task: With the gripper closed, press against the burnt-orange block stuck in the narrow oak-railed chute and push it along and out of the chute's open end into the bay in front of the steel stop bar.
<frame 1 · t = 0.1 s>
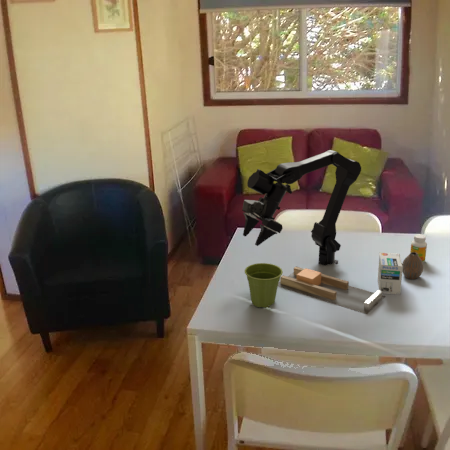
hand: (250, 240, 181), 15 cm above the table, tool tilted 30°, fingers open, 9 cm apart
chute: (313, 288, 179), on the table
light bulb box: (388, 289, 178), on the table
stop bar: (372, 303, 167), resting on chute
vase: (411, 277, 185), on the table
orange block: (308, 284, 180), point 1 cm above the table, touching chute
supplement bottle: (417, 261, 197), on the table
plant pot: (263, 303, 171), on the table
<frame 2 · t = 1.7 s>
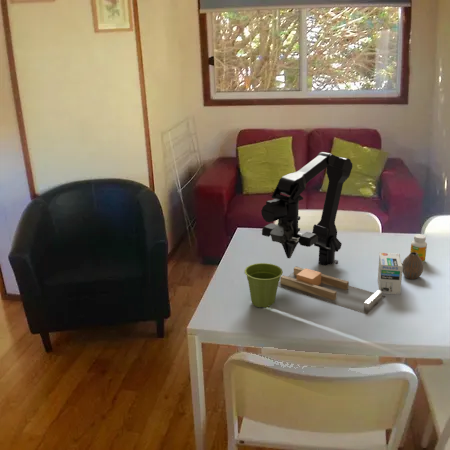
hand: (288, 257, 182), 8 cm above the table, tool pointing down, fingers closed
nothing on the table moved.
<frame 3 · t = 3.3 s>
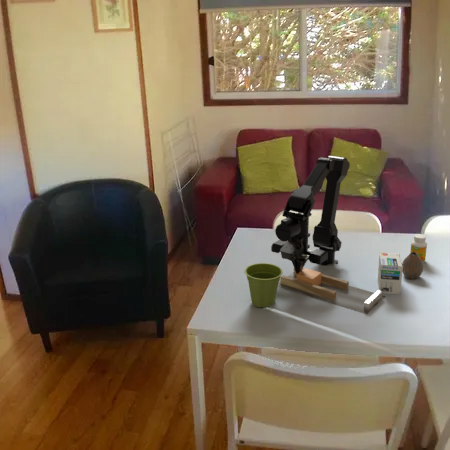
hand: (298, 274, 182), 3 cm above the table, tool pointing down, fingers closed
orange block: (308, 284, 180), point 1 cm above the table, touching chute, gripper
everything else where it was.
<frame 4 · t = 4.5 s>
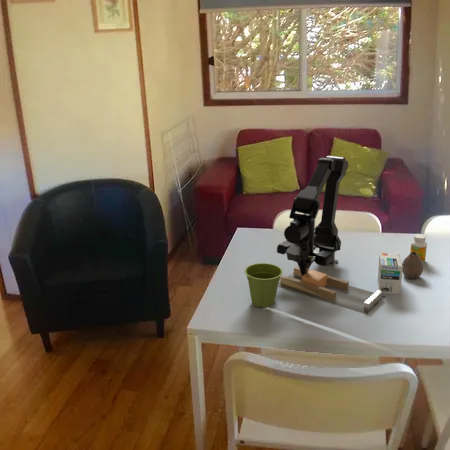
hand: (303, 276, 180), 3 cm above the table, tool pointing down, fingers closed
orange block: (314, 286, 179), point 1 cm above the table, touching chute, gripper
everything else where it was.
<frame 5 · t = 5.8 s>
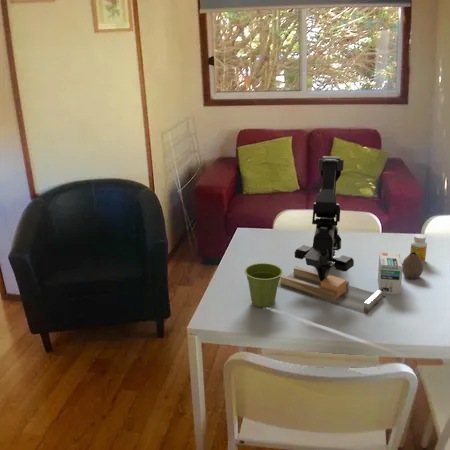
hand: (322, 281, 176), 3 cm above the table, tool pointing down, fingers closed
orange block: (333, 291, 175), point 1 cm above the table, touching gripper
everything else where it was.
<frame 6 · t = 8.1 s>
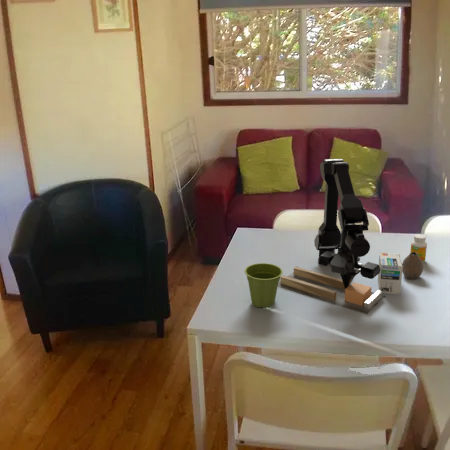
hand: (346, 288, 171), 3 cm above the table, tool pointing down, fingers closed
orange block: (357, 299, 170), point 1 cm above the table, touching chute, gripper
everything else where it was.
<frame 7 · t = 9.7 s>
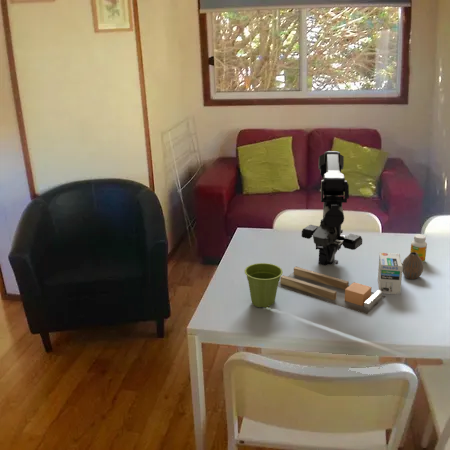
hand: (330, 261, 173), 11 cm above the table, tool pointing down, fingers closed
orange block: (357, 299, 170), point 1 cm above the table, touching chute
everything else where it was.
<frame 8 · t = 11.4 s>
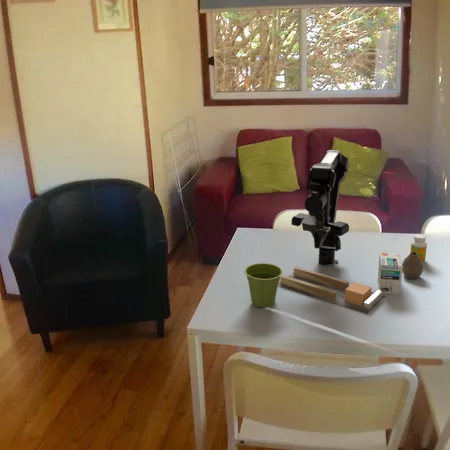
hand: (318, 247, 180), 12 cm above the table, tool pointing down, fingers closed
nothing on the table moved.
at the end: orange block 0.9 cm from the target spot, point 0.8 cm above the table; orange block tilted 0°; the gripper is holding nothing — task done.
